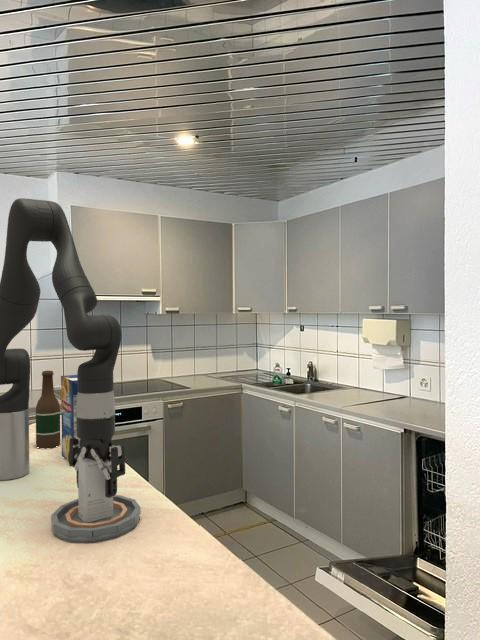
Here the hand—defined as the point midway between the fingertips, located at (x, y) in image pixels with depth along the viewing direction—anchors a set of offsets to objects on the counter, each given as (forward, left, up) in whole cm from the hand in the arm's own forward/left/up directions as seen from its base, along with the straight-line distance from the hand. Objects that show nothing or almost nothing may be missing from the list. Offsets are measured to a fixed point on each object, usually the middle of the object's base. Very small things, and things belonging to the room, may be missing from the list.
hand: (96, 491), depth 98 cm
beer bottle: (-57, +29, -7) cm, 64 cm away
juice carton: (-37, +25, -7) cm, 45 cm away
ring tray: (0, 0, -6) cm, 6 cm away
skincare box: (0, 0, -5) cm, 5 cm away
